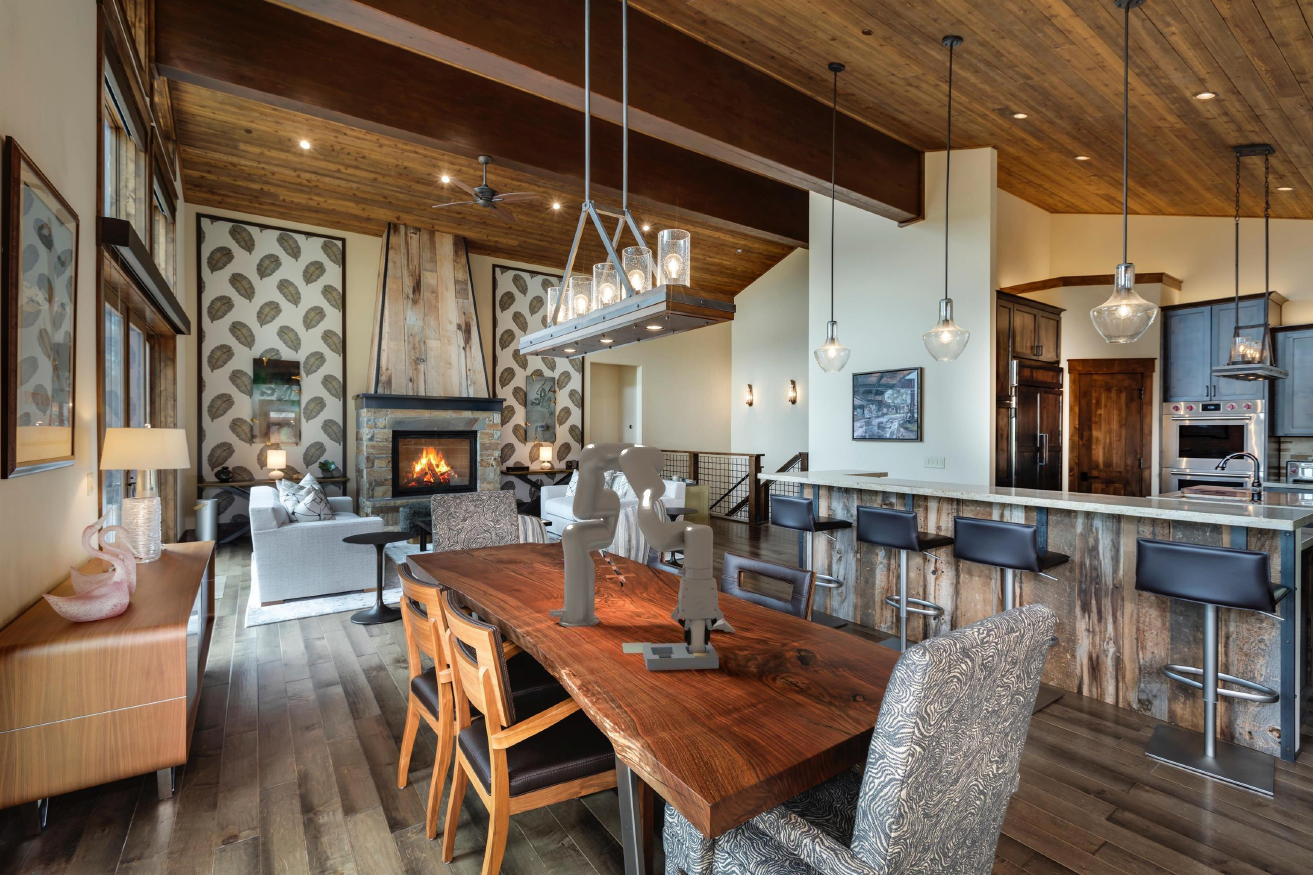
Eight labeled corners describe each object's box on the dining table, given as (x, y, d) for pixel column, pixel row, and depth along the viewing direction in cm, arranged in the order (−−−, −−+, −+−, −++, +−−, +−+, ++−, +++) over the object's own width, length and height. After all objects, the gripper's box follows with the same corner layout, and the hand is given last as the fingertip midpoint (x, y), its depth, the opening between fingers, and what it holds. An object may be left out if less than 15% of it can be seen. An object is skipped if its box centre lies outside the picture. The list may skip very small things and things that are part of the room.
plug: (690, 663, 159) (690, 613, 159) (687, 658, 163) (688, 608, 163) (706, 663, 160) (707, 612, 159) (703, 657, 164) (703, 608, 164)
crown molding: (678, 608, 216) (678, 598, 216) (712, 607, 218) (712, 597, 218) (698, 635, 187) (698, 623, 187) (737, 634, 189) (737, 622, 189)
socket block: (647, 674, 154) (647, 657, 154) (642, 659, 165) (643, 642, 165) (718, 672, 156) (718, 655, 156) (709, 657, 167) (709, 641, 167)
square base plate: (623, 657, 166) (623, 653, 166) (621, 647, 174) (621, 643, 174) (653, 656, 167) (653, 652, 167) (650, 646, 175) (650, 642, 175)
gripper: (667, 576, 157) (666, 649, 157) (733, 576, 159) (732, 647, 159) (664, 570, 164) (663, 639, 164) (726, 569, 166) (725, 638, 166)
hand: (696, 643), depth 161 cm, fingers closed on plug, 4 cm apart
